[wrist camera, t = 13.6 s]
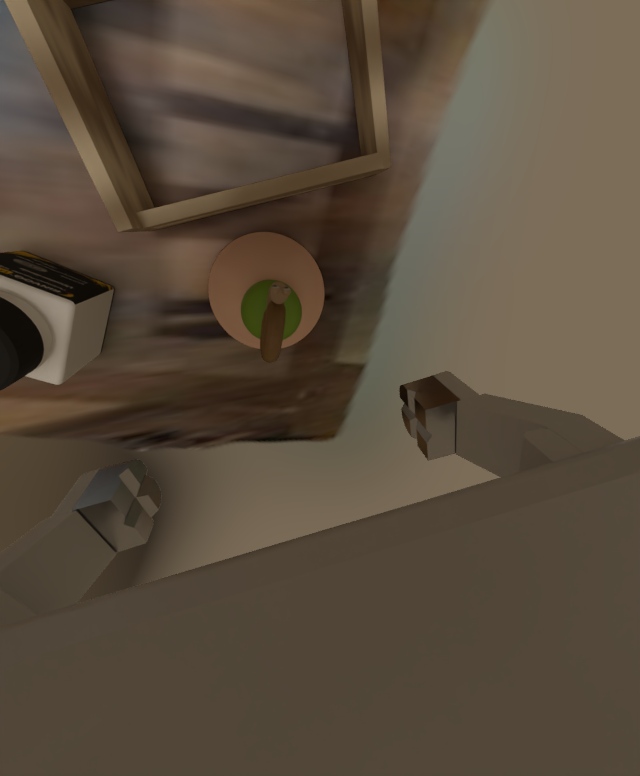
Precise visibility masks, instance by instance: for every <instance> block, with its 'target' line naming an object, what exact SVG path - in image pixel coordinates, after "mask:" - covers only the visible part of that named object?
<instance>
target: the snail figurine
mask: <svg viewBox="0 0 640 776" xmlns="http://www.w3.org/2000/svg"><path fill="white" fill-rule="evenodd" d="M241 317H242V320H243V323H244V325H245V327H246V328H247V330H248V331H249V332H250V333H251V334H252V335H253V336H255V337H256V338H258V339H260V350H261V354H262V358H263V360H265V361H266V362H269V363H271V362H274V361H276V360H277V358H278V357H279V354H280V350H281V346H282V341H283V340H284V339H286V338H288V337H290V336H291V335H292V334H293V333H294V332H295V331H296V330H297V328H298V326H299V324H300V321H301V318H302V306H301V302H300V300H299V297H298V296H297V294H296V293H295V291H294V290H293V289H292V288H291V287H290V286H288V285H287V284H285V283H283V282H281V281H278V280H263V281H259V282H257V283H255V284H254V285H252V286H251V287H250V288H249V289H248V290H247V291H246V293H245V295H244V296H243V299H242V302H241Z"/></svg>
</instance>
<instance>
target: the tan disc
mask: <svg viewBox="0 0 640 776" xmlns="http://www.w3.org/2000/svg"><path fill="white" fill-rule="evenodd" d="M263 280H278V281H281V282H283V283H285V284H287V285H288V286H290V287H291V288H292V289H293V290H294V291H295V293H296V294H297V296H298V297H299V300H300V302H301V306H302V318H301V321H300V324H299V326H298V328H297V330H296V331H295V332H294V333H293V334H292V335H291V336H290V337H288V338H286V339H284V340H283V341H282V346H281V348H285V347H288V346H291V345H293V344H295V343H297V342H298V341H300V340H302V339H303V338H304V337H305V336H306V335H308V333H309V332H310V331H311V330H312V329H313V328H314V326H315V325H316V323H317V321H318V319H319V317H320V315H321V312H322V309H323V305H324V283H323V278H322V275H321V272H320V270H319V267H318V265H317V264H316V262H315V260H314V259H313V257H312V256H311V255H310V253H309V252H308V251H307V250H306V249H305V248H304V247H303V246H301V245H300V244H299V243H297V242H296V241H294V240H292V239H291V238H289V237H286V236H284V235H281V234H277V233H273V232H255V233H250V234H247V235H244V236H241V237H239V238H237V239H235V240H234V241H232V242H231V243H230V244H228V245H227V246H226V247H225V248H224V249H223V250H222V251H221V253H220V254H219V255H218V256H217V258H216V260H215V262H214V264H213V266H212V269H211V272H210V276H209V283H208V293H209V300H210V304H211V307H212V310H213V313H214V315H215V317H216V319H217V320H218V322H219V323H220V325H221V326H222V327H223V328H224V330H225V331H226V332H227V333H228V334H229V335H231V336H232V337H233V338H235V339H236V340H237V341H239V342H241V343H243V344H245V345H247V346H250V347H253V348H257V349H260V339H258V338H256V337H255V336H253V335H252V334H251V333H250V332H249V331H248V330H247V328H246V327H245V325H244V323H243V320H242V317H241V302H242V299H243V296H244V295H245V293H246V291H247V290H248V289H249V288H250V287H251V286H252V285H254V284H255V283H257V282H259V281H263Z"/></svg>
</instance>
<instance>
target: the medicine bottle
mask: <svg viewBox="0 0 640 776" xmlns="http://www.w3.org/2000/svg"><path fill="white" fill-rule="evenodd" d="M113 292H114V288H113V287H112V286H110V285H108V284H105V283H103V282H100V281H97V280H95V279H92V278H90V277H87V276H85V275H82V274H80V273H77V272H75V271H72V270H69V269H67V268H64V267H62V266H59V265H57V264H54V263H52V262H49V261H47V260H44V259H42V258H39V257H36V256H34V255H31V254H29V253H26V252H23V251H14V252H4V253H0V390H2V389H4V388H6V387H8V386H9V385H11V384H13V383H14V382H16V381H17V380H19V379H21V378H22V377H24V376H27V377H30V378H34V379H37V380H41V381H44V382H48V383H51V384H55V385H59V384H62V383H63V382H64V381H66V380H67V379H68V378H70V377H71V376H72V375H73V374H75V373H76V372H77V371H79V370H80V369H81V368H82V367H84V366H85V365H86V364H88V363H89V362H90V361H91V360H93V359H94V358H95V357H97V356H98V355H99V354H100V352H101V348H102V343H103V339H104V334H105V329H106V325H107V320H108V316H109V311H110V306H111V302H112V297H113Z"/></svg>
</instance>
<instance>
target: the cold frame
mask: <svg viewBox="0 0 640 776" xmlns="http://www.w3.org/2000/svg"><path fill="white" fill-rule="evenodd" d="M4 1H5V3H6V5H7V7H8V9H9V11H10V13H11V15H12V17H13V19H14V21H15V23H16V25H17V27H18V29H19V31H20V33H21V35H22V37H23V39H24V41H25V43H26V45H27V48H28V50H29V52H30V54H31V56H32V58H33V60H34V62H35V64H36V66H37V68H38V70H39V72H40V74H41V76H42V78H43V80H44V82H45V84H46V86H47V88H48V90H49V92H50V94H51V97H52V99H53V101H54V103H55V105H56V107H57V109H58V111H59V113H60V115H61V117H62V119H63V121H64V123H65V125H66V127H67V129H68V131H69V133H70V135H71V137H72V139H73V141H74V144H75V146H76V148H77V150H78V152H79V154H80V156H81V158H82V160H83V162H84V164H85V166H86V168H87V170H88V172H89V174H90V176H91V178H92V180H93V182H94V184H95V186H96V188H97V191H98V193H99V195H100V197H101V199H102V201H103V203H104V205H105V207H106V209H107V211H108V213H109V215H110V217H111V219H112V221H113V223H114V225H115V227H116V229H117V231H118V232H137V231H154V230H158V229H162V228H166V227H170V226H174V225H178V224H182V223H185V222H189V221H193V220H197V219H201V218H205V217H209V216H213V215H217V214H221V213H225V212H229V211H233V210H237V209H241V208H245V207H249V206H253V205H257V204H261V203H265V202H269V201H273V200H277V199H281V198H285V197H289V196H293V195H297V194H301V193H305V192H309V191H313V190H317V189H321V188H325V187H329V186H333V185H337V184H341V183H344V182H348V181H352V180H356V179H360V178H364V177H368V176H372V175H376V174H378V173H380V172H382V171H384V170H386V169H388V168H390V167H391V158H390V146H389V135H388V123H387V112H386V100H385V88H384V77H383V65H382V54H381V42H380V30H379V19H378V7H377V0H342V6H343V14H344V22H345V30H346V38H347V46H348V54H349V62H350V70H351V78H352V86H353V94H354V102H355V110H356V118H357V126H358V135H359V143H360V151H361V157H358V158H354V159H350V160H346V161H342V162H337V163H333V164H329V165H325V166H321V167H317V168H313V169H309V170H305V171H301V172H297V173H293V174H289V175H285V176H281V177H277V178H273V179H269V180H265V181H261V182H257V183H253V184H249V185H245V186H241V187H237V188H233V189H229V190H225V191H221V192H217V193H213V194H209V195H205V196H201V197H197V198H193V199H189V200H185V201H181V202H177V203H173V204H169V205H165V206H161V207H157V208H154V205H153V203H152V201H151V198H150V196H149V193H148V191H147V189H146V186H145V184H144V182H143V179H142V177H141V174H140V172H139V170H138V167H137V165H136V163H135V160H134V158H133V156H132V153H131V151H130V148H129V146H128V144H127V141H126V139H125V137H124V134H123V132H122V129H121V127H120V125H119V122H118V120H117V118H116V115H115V113H114V110H113V108H112V106H111V103H110V101H109V99H108V96H107V94H106V91H105V89H104V87H103V84H102V82H101V80H100V77H99V75H98V73H97V70H96V68H95V65H94V63H93V61H92V58H91V56H90V54H89V51H88V49H87V46H86V44H85V42H84V39H83V37H82V35H81V32H80V30H79V27H78V25H77V23H76V20H75V18H74V16H73V13H72V11H71V9H73V8H77V7H82V6H86V5H91V4H95V3H100V2H105V1H109V0H4Z"/></svg>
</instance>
